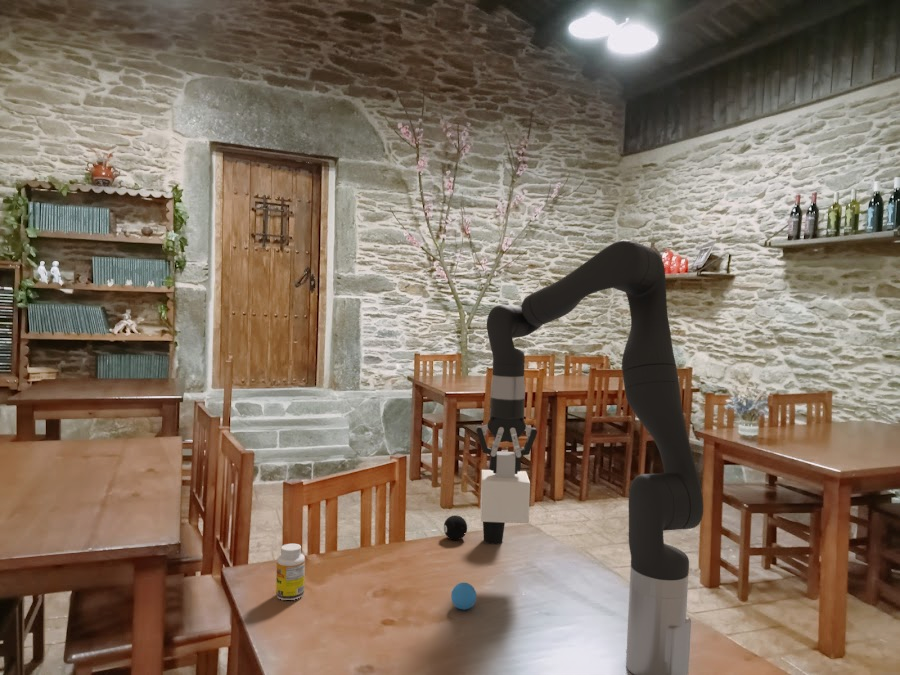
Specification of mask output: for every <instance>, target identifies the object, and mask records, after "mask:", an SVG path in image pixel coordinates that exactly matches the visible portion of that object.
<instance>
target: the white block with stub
mask: <svg viewBox="0 0 900 675" xmlns="http://www.w3.org/2000/svg"><path fill="white" fill-rule="evenodd" d="M496 455H497V468H496V473H493V471H491V469H481V478H480V479H481V482H480V483H481V484H480V488H481V490H480V522H482V523H483V522H504V523H505V524H506V523H509V524H510V523H511V524H528V525H529V524H530V500H531V499H530V498H531V497H530V496H531V482H530V479H529V475H528V473H527V471H525V470H520V472H518V473H517V474H515V451H501V450H500V451H498V450H497V453H496Z"/></svg>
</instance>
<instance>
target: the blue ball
mask: <svg viewBox="0 0 900 675" xmlns="http://www.w3.org/2000/svg"><path fill="white" fill-rule="evenodd" d="M476 601H477V593H476V590H475V588H474V586H473V585H472V584H470V583H468V582H459V583H458V584H456V585H455V586H454V587H453V589H452V590H451V602H452V604H453V605H454V606H455V607H456V608H457V609H460V610H462V611H463V610H464V611H465V610H469V609H471V608H472V607H473V606H475V603H476Z"/></svg>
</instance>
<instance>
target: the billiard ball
mask: <svg viewBox="0 0 900 675" xmlns="http://www.w3.org/2000/svg"><path fill="white" fill-rule="evenodd" d="M443 531H444V534H445V535H446V537H447V538H448V537H449V538H448V539H450V540H454V541H458V540H461V539H462V538H464V537H465V536H466V534H467V533H468V532H467V531H468V525H467V522H466V519H464V518H463V516H459V515H451V516H449V517H447V519H445V521H444V524H443ZM464 533H466V534H464Z"/></svg>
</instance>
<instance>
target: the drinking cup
mask: <svg viewBox="0 0 900 675" xmlns="http://www.w3.org/2000/svg"><path fill="white" fill-rule="evenodd" d="M479 490H480V491H481V487H480V489H479ZM505 524H506V523H504V522H482V529H483V531H482V532H483V534H482V535H483V541H484V543H486V544H493V545H498V543H499V544H501V543H503V539H504V530H505Z"/></svg>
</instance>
